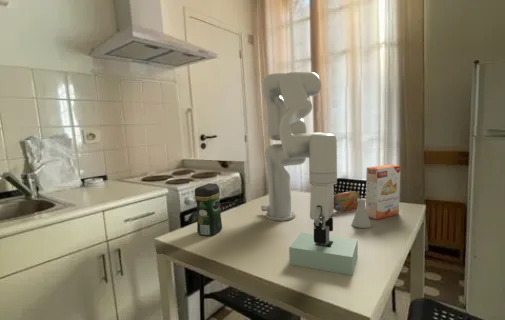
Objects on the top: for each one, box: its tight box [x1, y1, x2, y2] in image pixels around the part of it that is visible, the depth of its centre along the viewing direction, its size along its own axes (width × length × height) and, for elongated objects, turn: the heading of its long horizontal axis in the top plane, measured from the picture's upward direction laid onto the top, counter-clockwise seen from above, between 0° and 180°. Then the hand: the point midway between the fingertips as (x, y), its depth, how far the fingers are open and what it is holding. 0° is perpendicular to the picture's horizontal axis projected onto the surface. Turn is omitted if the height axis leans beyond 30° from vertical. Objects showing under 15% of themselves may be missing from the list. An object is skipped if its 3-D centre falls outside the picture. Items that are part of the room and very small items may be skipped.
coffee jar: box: [194, 182, 223, 237], centre depth 108 cm, size 10×8×19 cm
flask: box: [351, 198, 372, 229], centre depth 108 cm, size 7×7×10 cm
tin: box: [334, 190, 362, 214], centre depth 128 cm, size 15×3×8 cm, turn 114°
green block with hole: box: [288, 232, 359, 276], centre depth 82 cm, size 17×12×5 cm
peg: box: [319, 225, 330, 247], centre depth 82 cm, size 3×3×10 cm
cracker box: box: [365, 164, 401, 221], centre depth 118 cm, size 14×6×21 cm, turn 117°
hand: (323, 236), depth 82 cm, fingers open, 9 cm apart
